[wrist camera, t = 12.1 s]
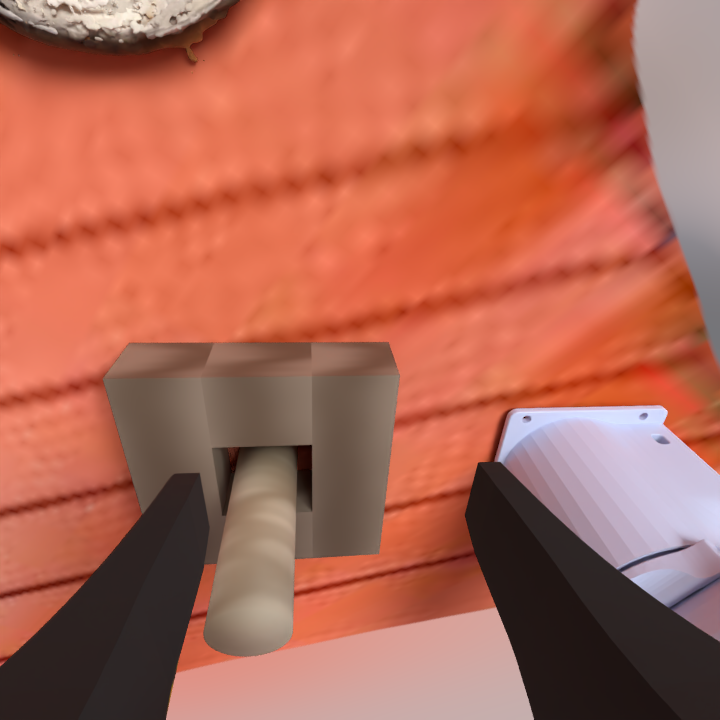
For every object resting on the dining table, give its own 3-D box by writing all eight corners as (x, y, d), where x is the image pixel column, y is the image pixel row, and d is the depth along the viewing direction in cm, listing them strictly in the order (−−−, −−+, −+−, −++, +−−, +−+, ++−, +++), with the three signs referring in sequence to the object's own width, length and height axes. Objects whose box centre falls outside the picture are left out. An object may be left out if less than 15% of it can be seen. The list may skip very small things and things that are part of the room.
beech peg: (297, 418, 23) (291, 605, 14) (298, 460, 24) (293, 652, 16) (239, 419, 23) (197, 611, 14) (244, 462, 24) (209, 659, 16)
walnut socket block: (388, 342, 21) (399, 375, 19) (372, 511, 27) (379, 554, 25) (129, 343, 20) (102, 378, 17) (172, 521, 26) (157, 567, 23)
